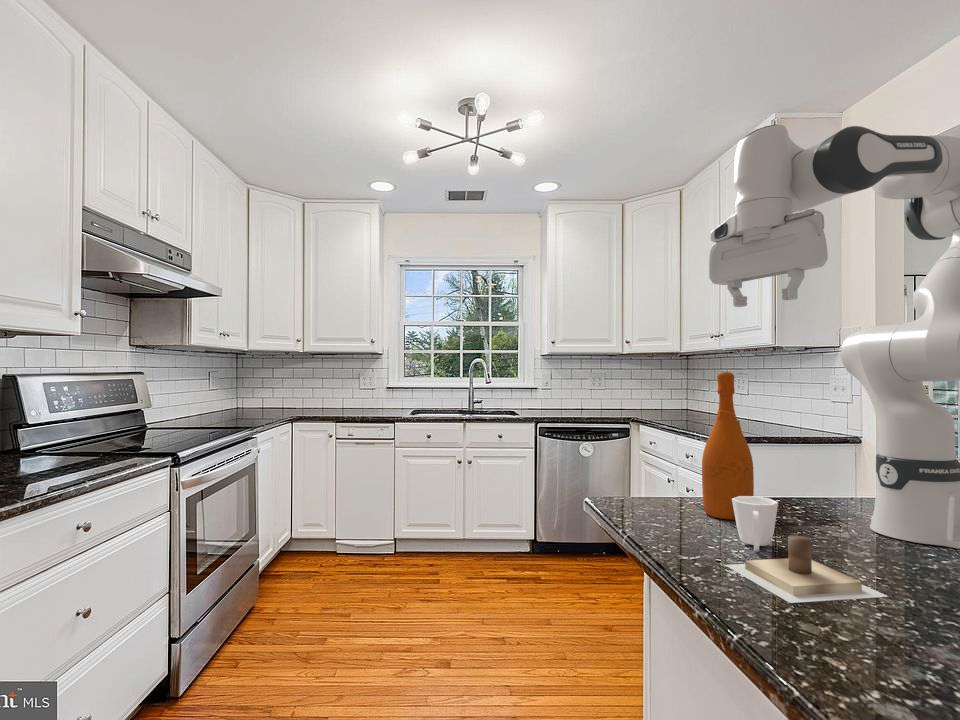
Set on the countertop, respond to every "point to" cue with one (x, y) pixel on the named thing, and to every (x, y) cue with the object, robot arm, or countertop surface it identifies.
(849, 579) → the lid
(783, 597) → the mat
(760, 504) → the cup
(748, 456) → the wine bottle
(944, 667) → the countertop surface
